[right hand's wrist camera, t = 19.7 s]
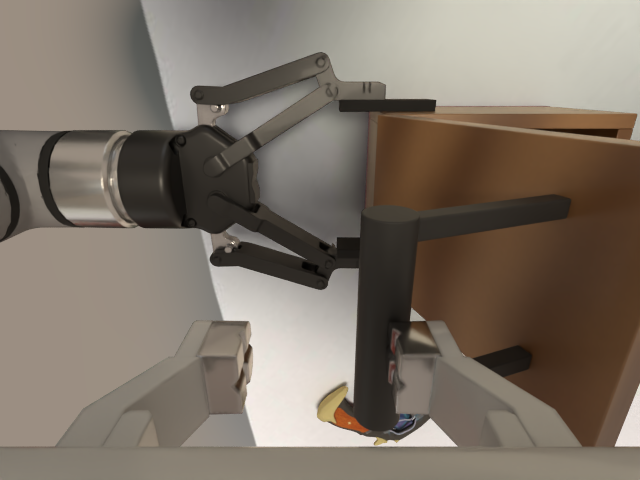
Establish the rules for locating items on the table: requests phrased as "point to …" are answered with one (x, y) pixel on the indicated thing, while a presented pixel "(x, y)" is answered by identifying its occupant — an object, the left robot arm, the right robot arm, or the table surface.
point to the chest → (512, 125)
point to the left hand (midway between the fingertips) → (423, 181)
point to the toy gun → (343, 417)
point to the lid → (506, 263)
